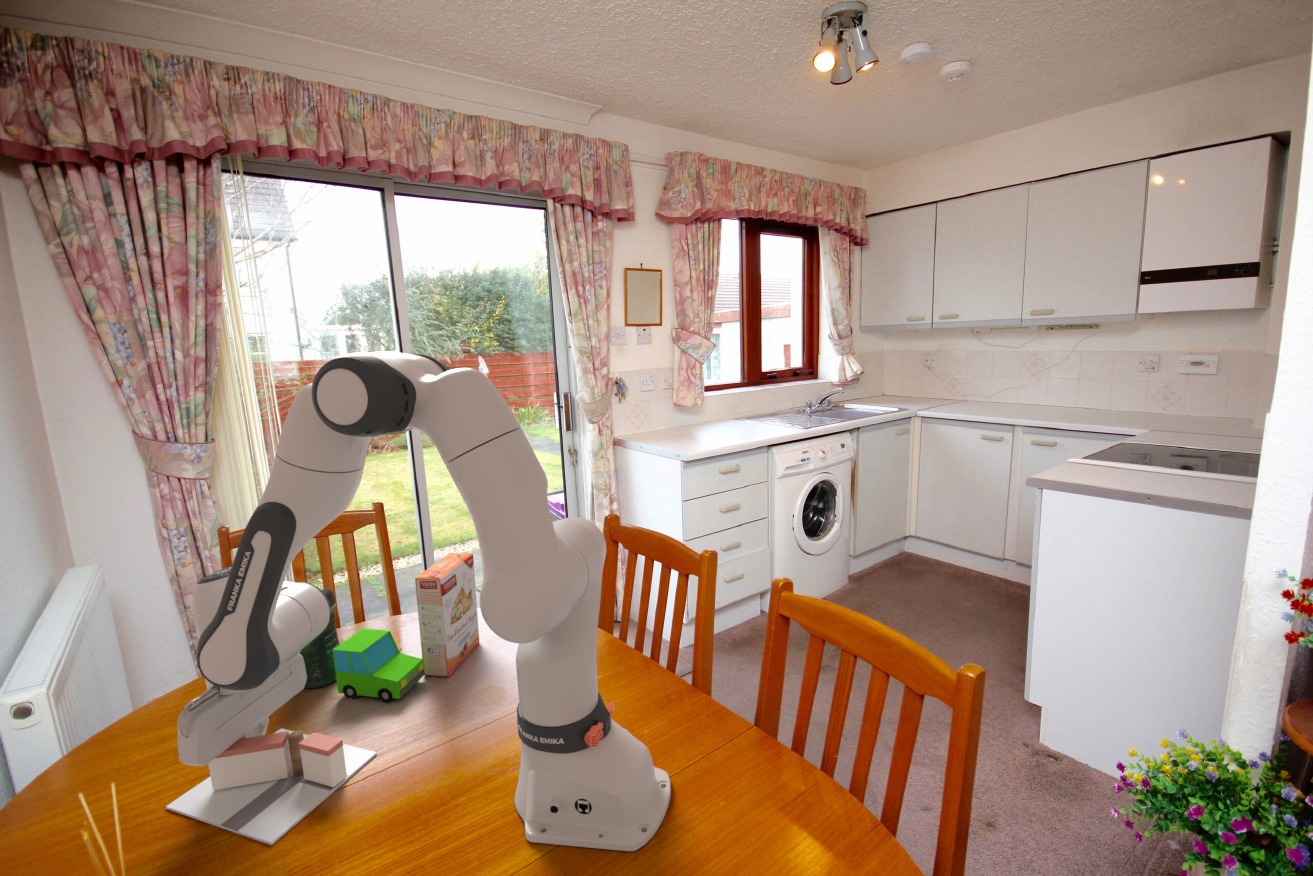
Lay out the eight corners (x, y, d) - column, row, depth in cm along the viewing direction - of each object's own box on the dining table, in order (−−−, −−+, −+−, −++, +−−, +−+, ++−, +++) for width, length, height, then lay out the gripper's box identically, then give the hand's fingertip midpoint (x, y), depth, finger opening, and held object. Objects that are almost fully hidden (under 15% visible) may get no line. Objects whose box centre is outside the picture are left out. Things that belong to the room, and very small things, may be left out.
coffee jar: (351, 668, 120) (341, 582, 117) (328, 690, 112) (315, 600, 109) (307, 667, 121) (295, 583, 118) (280, 690, 113) (266, 600, 110)
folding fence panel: (293, 766, 91) (288, 731, 90) (287, 778, 88) (281, 742, 87) (221, 778, 89) (215, 742, 88) (212, 791, 86) (206, 754, 85)
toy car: (398, 709, 106) (392, 658, 104) (335, 702, 109) (328, 652, 107) (430, 677, 116) (425, 630, 114) (371, 672, 119) (366, 626, 117)
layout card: (376, 754, 94) (376, 751, 94) (271, 845, 77) (271, 842, 77) (281, 730, 101) (281, 727, 101) (166, 809, 84) (165, 805, 84)
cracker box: (451, 678, 115) (441, 578, 112) (422, 676, 116) (412, 577, 113) (482, 642, 129) (474, 552, 125) (456, 641, 130) (448, 551, 126)
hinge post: (311, 771, 91) (306, 732, 90) (300, 780, 89) (294, 740, 88) (302, 768, 91) (296, 729, 90) (290, 777, 90) (284, 737, 88)
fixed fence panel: (347, 775, 89) (342, 739, 88) (332, 788, 86) (327, 751, 85) (318, 767, 90) (313, 732, 90) (303, 779, 88) (298, 743, 87)
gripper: (195, 712, 79) (213, 802, 81) (308, 636, 99) (319, 711, 101) (156, 709, 80) (174, 799, 82) (275, 635, 100) (287, 708, 102)
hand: (255, 749), depth 92 cm, fingers closed
